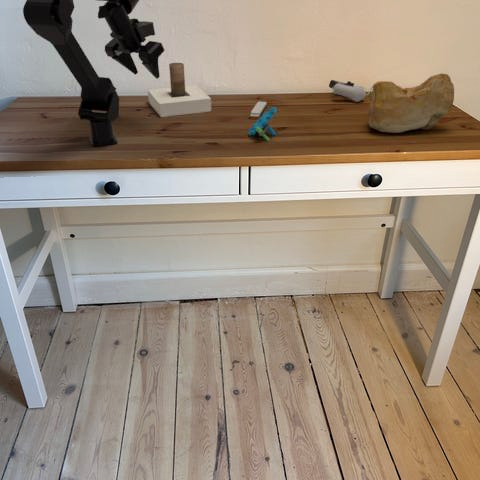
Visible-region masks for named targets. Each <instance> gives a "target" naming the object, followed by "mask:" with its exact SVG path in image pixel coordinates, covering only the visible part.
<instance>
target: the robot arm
mask: <svg viewBox="0 0 480 480" xmlns="http://www.w3.org/2000/svg"><path fill="white" fill-rule="evenodd" d="M96 1H99V2H100V1H101V2H102V1H103V2H105V3H104V4H103V5H99V6H98V13H97V18H98V19H99V20H100V19H105V22H106V24H107V26H108V27H109V29H110V30H111V32H110V33H109V35H110V38H112V39H111V40H109V42H107V43H106V44H105V46H104V52H105V54H106V55H107V57H110V58H111V59H112V60H114V61H116V62H117V63H119V64H120V65H122V67H124V68H126V69H127V70H128V71H129V72H131V73H132V74H134V75H138V73H139V71H138V69H137V66H136V63H135V62H134V60H133V59H134V58H133V57H132V55H131V54H133V53H135V54H138V58H139V60H140V61H141V64H142V66H144V68H145V69H146V70H147V71H148V72H149V73H150V74H151V75H152V76H153V77H154V78H155V79H159V78H160V69H159V58H160V56H161V55H162V54H163V53H164V52H165V47H164V46H163V43H162V42H159V41H154V40H153V41H152V40H149V41H147V39H146V38H147V37H150V36H152V37H153V36H155V35H156V33H155V27H154V22H153V21H144V20H143V21H140V20H139V19H138V18H130V16H129V15H131V14H132V12H133V11H134V9H135V7H136V6H137V4H138V3H139V1H140V0H96ZM74 10H75V4H74V0H26V1H25V3H24V5H23V9H22V14H23V18H24V20H25V23H26V24H27V26H29V27H30V29H32V30H33V32H34V33H35V34H36V35H37V36H39V37H41V38H43V39H44V40H45V41H48V42H49V43H50V44H51V45H52V46H53V47H54V49H55V51H56V52H57V53H58V55H59V56H60V58H61V59H62V61H63V62H64V64H65V65H66V67H67V68H68V69H69V71H70V73H71V74H72V76H73V77H74V79H75V80H76V82H77V83H78V85H79V86H80V88H81V90H80V98H81V102H80V105H79V108H78V111H77V115H78V116H79V118H80V120H85V121H88V126H89V132H90V136H89V137H88V138H89V141H90V144H91V147H100V146H101V147H102V146H109V145H115V144H118V142H119V141H118V139H117V138H116V135H115V134H114V128H113V121H115V120H117V119H118V118H119V116H120V115H119V114H120V113H119V112H120V97H119V94H118V92H117V87H115V86H114V84H113V81H112V79H110V77H103V76H99V74H98V73H97V72H96V70H95V68H94V67H93V65H92V63H91V62H90V60H89V59H88V56H87V55H86V54H85V52H84V50H83V49H82V46H81V45H80V44H79V42H78V40H77V39H76V37H75V35H74V34H73V32H72V30H73V29H72V28H73V21H74V20H73V18H72V14H73V12H74ZM145 41H147V42H146V43H145V44H142V43H144V42H145ZM98 111H99V112H98ZM100 111H101V112H100Z"/></svg>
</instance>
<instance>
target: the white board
mask: <svg viewBox="0 0 480 480" xmlns="http://www.w3.org/2000/svg"><path fill="white" fill-rule="evenodd" d="M185 92H186V94H185V96H183V97H172V95H171V87H166V88H155V89H147V96H148V97H147V98H148V103H149V104H150V106H151V107H152V108H153V109H154V111H155V112H156V113H157V114H158V115H159V117H160V118H165V117H166V118H167V117H174V116H181V115H182V116H183V115H191V114H200V113H207V112H208V113H209V112H212V98H211V97H210V96H209V95H208V94H207V93H205V91H202V90H201V89H200V88H199V87H198V86H197V85H196V84H195V85H185Z"/></svg>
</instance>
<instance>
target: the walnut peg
mask: <svg viewBox="0 0 480 480" xmlns="http://www.w3.org/2000/svg"><path fill="white" fill-rule="evenodd" d="M168 65H169V67H168V68H169V81H170V88H171V95H172V97H183V96H185V94H186V92H185V86H186V83H185V82H186V79H185V64H184V63H182V62H172V63H171V62H170V63H169V64H168Z"/></svg>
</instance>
